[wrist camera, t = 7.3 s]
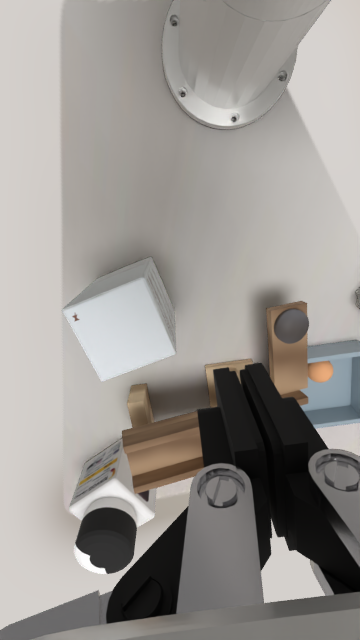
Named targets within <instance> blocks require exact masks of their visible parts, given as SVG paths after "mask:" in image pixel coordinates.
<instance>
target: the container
mask: <svg viewBox="0 0 360 640" xmlns="http://www.w3.org/2000/svg"><path fill="white" fill-rule="evenodd" d="M155 502H156V488H154V489H151V490H147V491H144V492H140V493H137V494H135V493H134V489H133V481H132V474H131V470H130V466H129V462H128V458H127V454H125V453H124V449H123V440H122V439H120V440H119V441H117V442H116V443H114V444H113V445H112V446H110V447H109V448H107V449H106V450H104V451H103V452H101V453H100V454H98V455H97V456H95V457H94V458H92V459H91V460H89V461H88V462H86V463H85V464H84V467H83V470H82V473H81V476H80V478H79V481H78V484H77V487H76V490H75V492H74V495H73V498H72V501H71V504H70V506H69V511H70V512H71V513H72V514H74V515H75V516H76V517H77V518H79V519H80V520H81V521H82V522H81V526H80V529H79V532H78V535H77V539H76V542H75V545H74V555H75V557H76V559H77V561H78V563H79V564H80V565H81V566H82V567H83V568H85V569H87V570H89V571H91V572H95V573H99V574H109V573H115V572H118V571H120V570H122V569H123V568H125V567H126V566H127V565H128V564H129V563H130V562H131V560H132V559H133V556H134V547H135V539H136V531H137V527H139V526H140V525H142V524H144V523H145V522H147V521H149V520H150V519H152V518H154V516H155Z"/></svg>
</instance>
